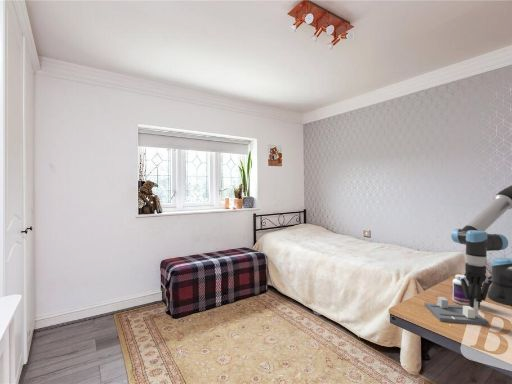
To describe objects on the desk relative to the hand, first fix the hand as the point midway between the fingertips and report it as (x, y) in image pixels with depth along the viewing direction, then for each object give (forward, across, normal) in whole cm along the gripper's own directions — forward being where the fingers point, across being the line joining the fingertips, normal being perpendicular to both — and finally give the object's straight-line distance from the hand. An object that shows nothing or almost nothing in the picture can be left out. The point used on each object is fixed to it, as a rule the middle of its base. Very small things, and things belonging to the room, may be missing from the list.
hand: (474, 314), depth 124 cm
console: (+3, +6, -5) cm, 8 cm away
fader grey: (+1, +9, -9) cm, 13 cm away
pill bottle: (+3, -6, -21) cm, 22 cm away
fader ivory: (+1, +2, 0) cm, 3 cm away
